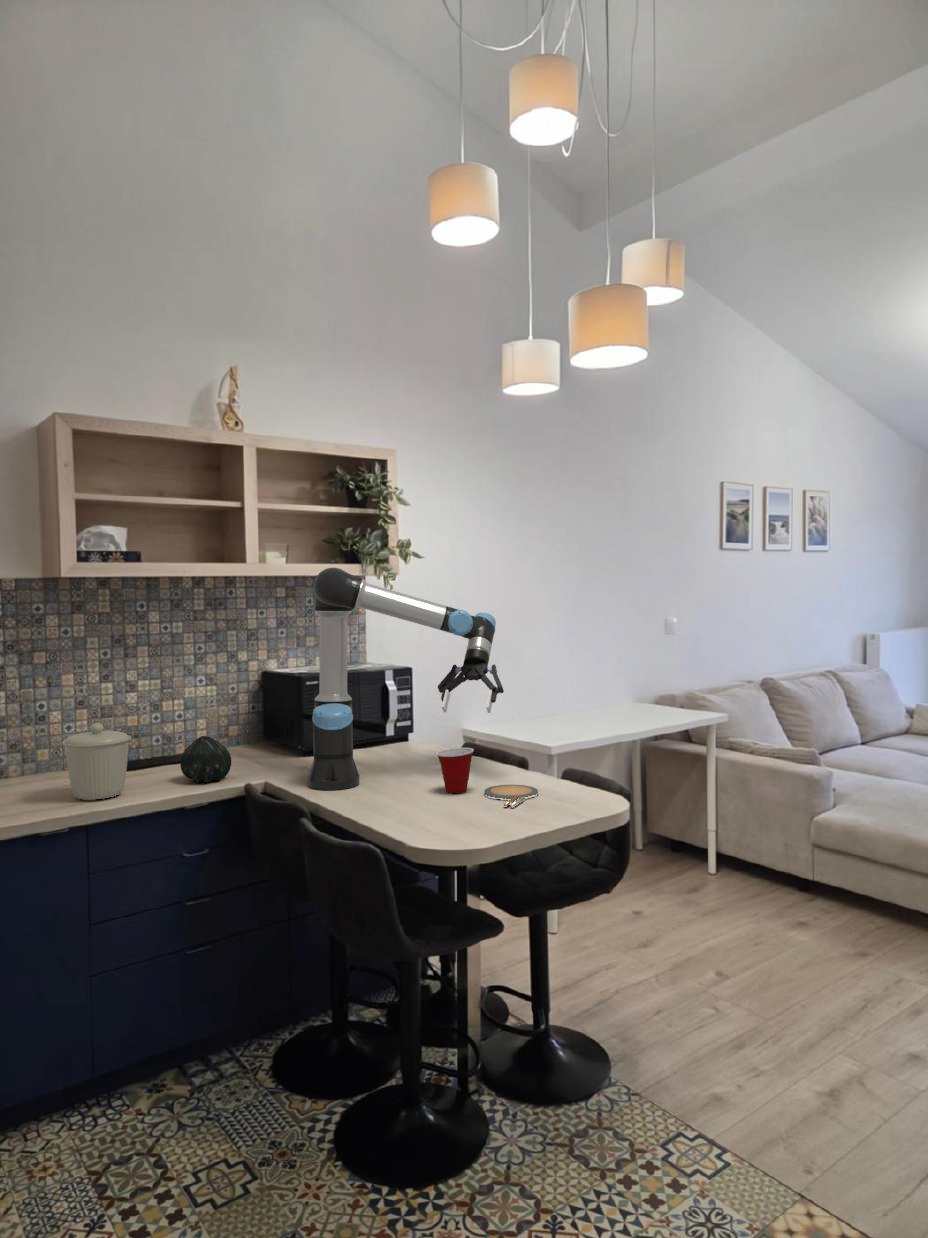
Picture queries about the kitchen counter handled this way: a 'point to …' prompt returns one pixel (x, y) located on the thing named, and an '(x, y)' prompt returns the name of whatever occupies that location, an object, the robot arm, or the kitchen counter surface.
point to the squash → (205, 760)
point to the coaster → (510, 791)
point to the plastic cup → (455, 768)
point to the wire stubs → (513, 801)
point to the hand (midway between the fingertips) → (465, 710)
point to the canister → (97, 762)
